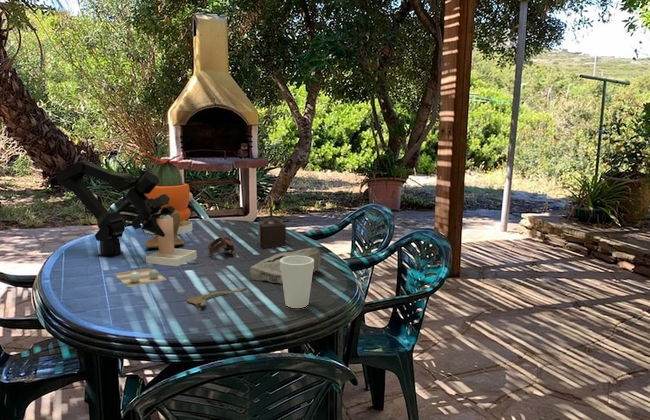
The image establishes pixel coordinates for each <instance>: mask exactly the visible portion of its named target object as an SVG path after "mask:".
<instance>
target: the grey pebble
mask: <svg viewBox="0 0 650 420" xmlns="http://www.w3.org/2000/svg"><path fill="white" fill-rule="evenodd" d="M159 274H160V272H159V271H158V269H153V270H151V271H150V272H149V277H150V278H152V279H155V278H157V277H158V276H159Z"/></svg>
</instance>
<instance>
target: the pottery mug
mask: <svg viewBox="0 0 650 420" xmlns="http://www.w3.org/2000/svg"><path fill="white" fill-rule="evenodd" d="M207 249H208V254H209V255H210V257H212V256H213V254H217V253H221V249H223V250H224V252H230V253H231V254H232V257H233V258H235V257H236V256H237V251H236V249H235V246H234V245H233V243H232V240H231V239H230V238H229V237H228V236H226V237H225V236H221V237H217V238H216V239H214V240H213V241H211V242H210V243H209V245H208V246H207Z"/></svg>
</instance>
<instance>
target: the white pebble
mask: <svg viewBox="0 0 650 420" xmlns="http://www.w3.org/2000/svg"><path fill="white" fill-rule="evenodd" d="M133 271H134V270H133ZM140 277H141V276H140V273H139V272H136V271H134V272H131V273H130V275H129V280H130V281H131V282H138V281H139V280H140Z"/></svg>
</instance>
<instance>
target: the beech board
mask: <svg viewBox="0 0 650 420" xmlns="http://www.w3.org/2000/svg"><path fill="white" fill-rule="evenodd" d="M151 270H153V269H152V267H146V268H141V269H135V270H129V271H124V272H118V273H113V275H114V276H115V277H117V279H119V280H120V282H122V283H123V285H125V286H126V287H128V288H130V287H137V286H141V285H142V286H143V285H148V284H152V283H157V282H162V281H163V282H164V281H168V279H167V278H165V277H164V276H163V275H162V274H160V273H159V276H158V277H157V278H155V279H152V278H150V277H149V272H150V271H151ZM134 271H136V272H139V273H140V276H141V277H140V280H139V281H138V282H131V281H130V280H129V275H130V273H131V272H134Z"/></svg>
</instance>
